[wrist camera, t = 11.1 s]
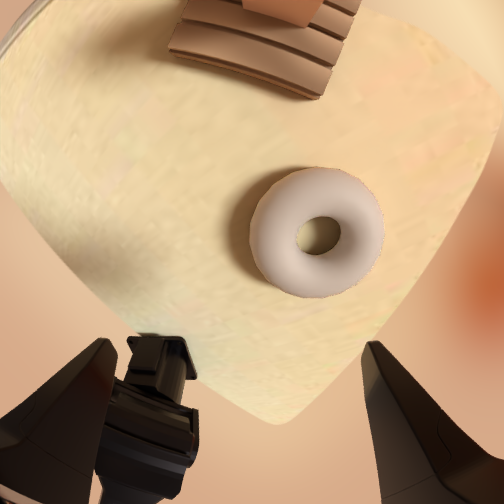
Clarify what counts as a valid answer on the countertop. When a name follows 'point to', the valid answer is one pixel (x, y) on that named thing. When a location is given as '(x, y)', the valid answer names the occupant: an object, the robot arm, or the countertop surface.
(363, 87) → the countertop surface
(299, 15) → the clay bar
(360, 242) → the donut
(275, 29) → the stacked wooden slats
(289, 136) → the countertop surface
